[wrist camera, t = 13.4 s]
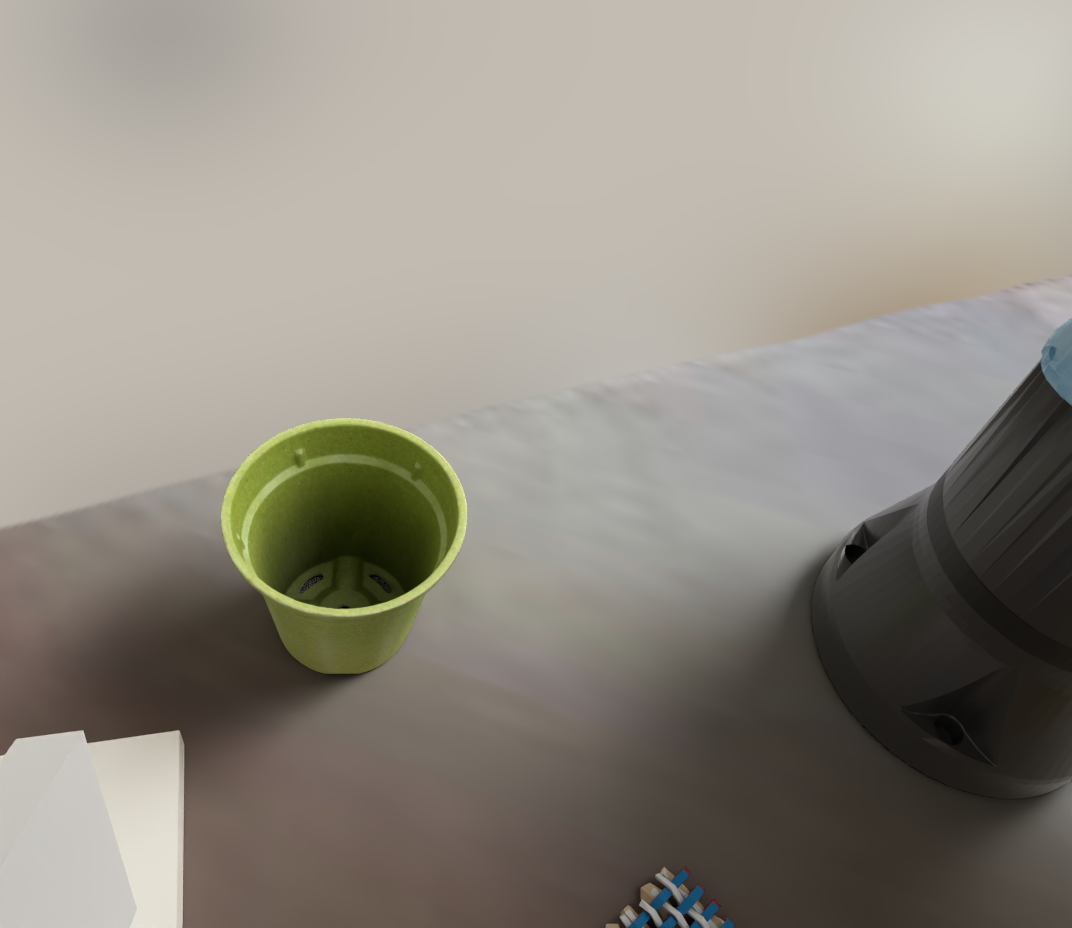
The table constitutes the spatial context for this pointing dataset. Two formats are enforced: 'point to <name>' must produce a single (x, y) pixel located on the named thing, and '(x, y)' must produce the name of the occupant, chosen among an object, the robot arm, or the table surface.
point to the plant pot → (343, 536)
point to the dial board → (147, 819)
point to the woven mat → (668, 917)
